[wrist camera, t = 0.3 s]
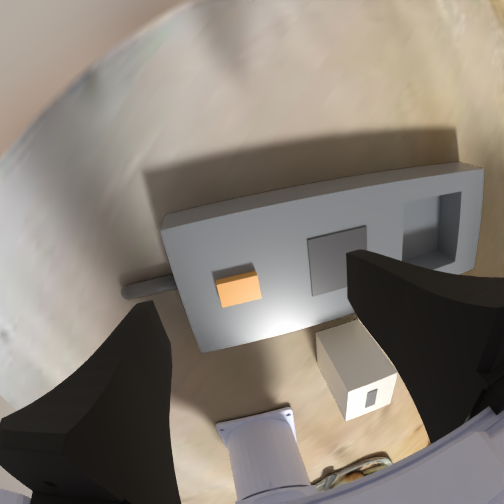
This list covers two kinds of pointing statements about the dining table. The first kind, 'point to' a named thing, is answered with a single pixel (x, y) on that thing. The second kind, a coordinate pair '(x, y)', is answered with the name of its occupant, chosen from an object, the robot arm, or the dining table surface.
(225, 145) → the dining table surface
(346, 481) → the salad plate
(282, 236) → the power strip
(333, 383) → the block
